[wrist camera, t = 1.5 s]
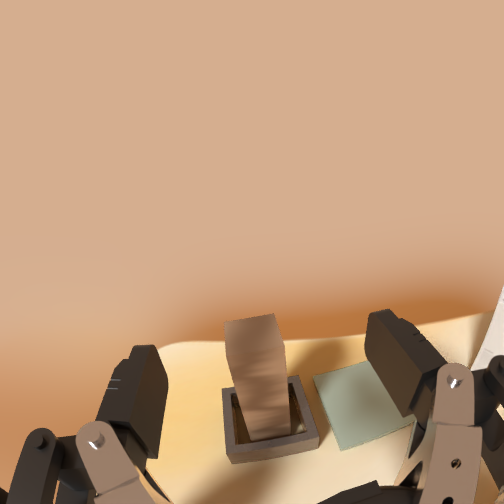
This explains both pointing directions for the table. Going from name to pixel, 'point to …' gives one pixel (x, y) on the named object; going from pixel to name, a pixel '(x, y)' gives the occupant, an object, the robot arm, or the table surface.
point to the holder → (274, 446)
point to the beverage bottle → (3, 496)
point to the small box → (492, 338)
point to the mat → (358, 405)
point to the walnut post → (259, 375)
